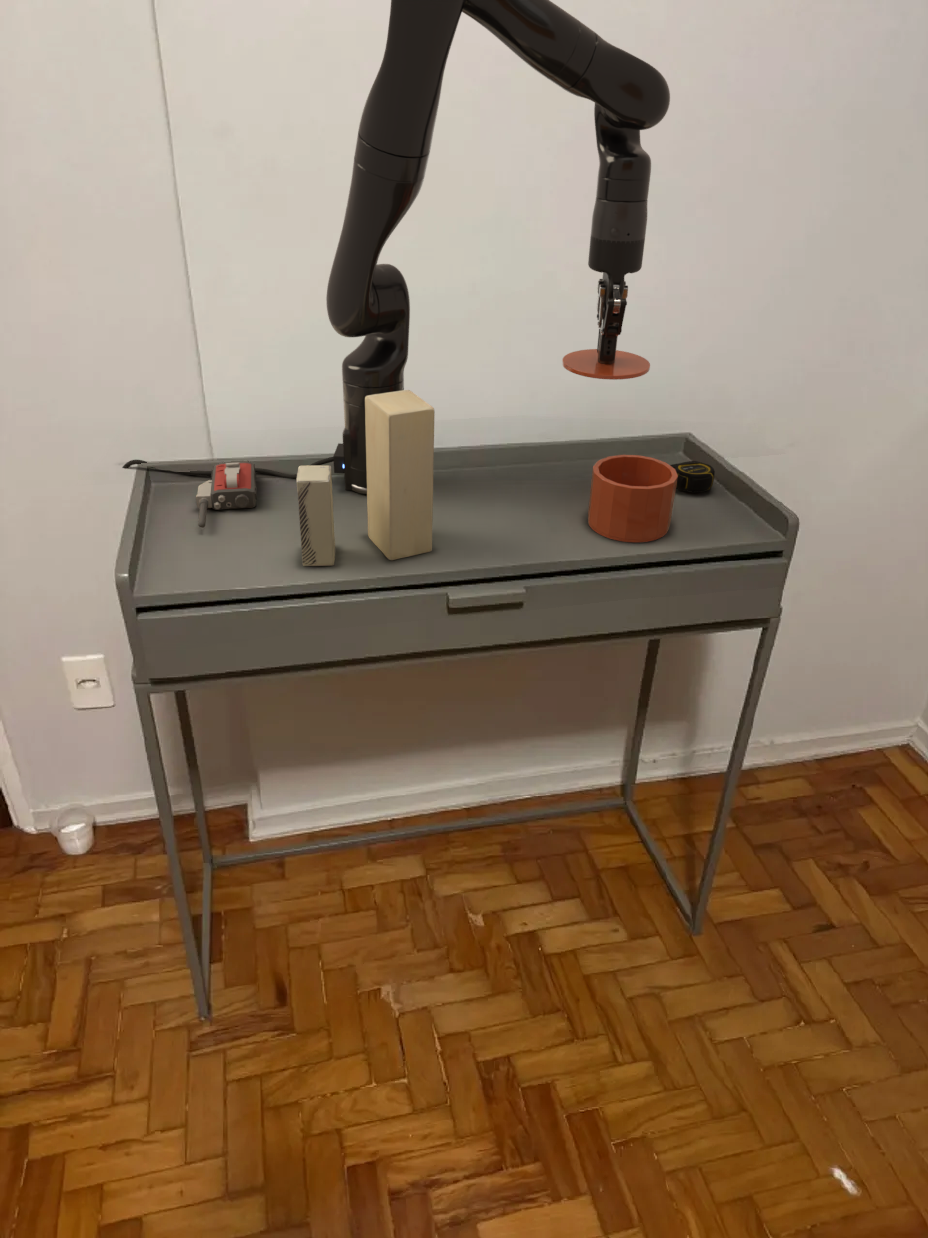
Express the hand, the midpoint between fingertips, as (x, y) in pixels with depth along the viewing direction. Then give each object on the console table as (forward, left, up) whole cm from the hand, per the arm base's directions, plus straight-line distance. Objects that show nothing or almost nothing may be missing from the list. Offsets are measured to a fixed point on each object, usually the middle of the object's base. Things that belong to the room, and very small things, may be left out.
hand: (605, 356), depth 138 cm
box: (-40, -26, -21) cm, 52 cm away
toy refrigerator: (-29, -21, -21) cm, 42 cm away
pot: (+4, -12, -21) cm, 25 cm away
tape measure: (+15, +2, -21) cm, 26 cm away
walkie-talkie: (-56, -10, -21) cm, 61 cm away
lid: (0, 0, -1) cm, 1 cm away
